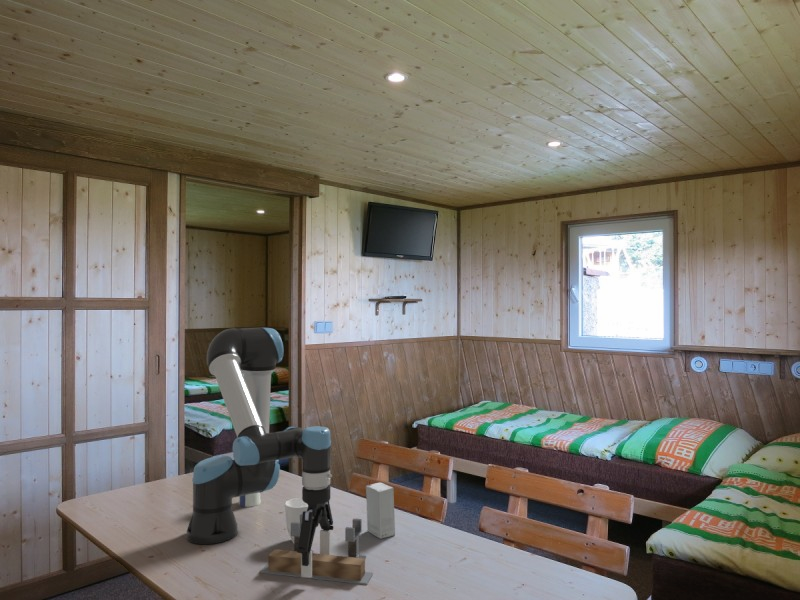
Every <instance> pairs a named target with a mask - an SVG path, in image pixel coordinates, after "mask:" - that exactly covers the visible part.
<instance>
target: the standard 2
mask: <svg viewBox="0 0 800 600" xmlns="http://www.w3.org/2000/svg"><path fill="white" fill-rule="evenodd" d="M362 519H363V518H362ZM362 519H361V518H353V519H352V527H349V526H346V527H345V529H344V530H345V532H344V533H345V534H344V535H345V536H344V537H345V540H344V541H345V542H348V543H347V546H348V547H347V552H348V554H347V557H354V558H364V559H365V560H366V558H367V555H362V554H360V534H361V533H362V528H363V527H362V526H363V524H362V521H363V520H362Z"/></svg>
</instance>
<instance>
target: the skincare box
mask: <svg viewBox="0 0 800 600" xmlns="http://www.w3.org/2000/svg"><path fill="white" fill-rule="evenodd" d="M365 492H366V493H365V494H366V495H365V498H366V500H365V501H366V518H367V519H366V520H367V521H366V522H367V523H366V528H367V530H366V531H367V532H368V533H370V534H371V535H373V536H374V537H377V538H378V539H381V540H382V539H384V538H389V537H390V538H391V537H394V536H395V535H396V521H395V500H394V499H395V498H394V495H395V494H394V493H395V492H394V487H392V486H390V485H387V484H385V483H383V482H375V483H372V484H368V485H365Z"/></svg>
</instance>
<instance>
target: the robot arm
mask: <svg viewBox="0 0 800 600" xmlns="http://www.w3.org/2000/svg"><path fill="white" fill-rule="evenodd" d="M284 350H285V349H284V343H283V341H282V337H281V336H280V333H279V332H278V331H277V330H276V329H274V328H272V327H271V328H270V327H243V328H236V327H233V328H232V327H231V328H227V329H223V330H222V331H221V332H219V333H217V335H215V337H214V338H213V339H212V340H211V342H210V343H209V346H208V348H207V351H206V366H207V367H208V371H209V373H210V374H211V375H212V376H213V377H215V379H216V382H217V386H218V387H219V389H220V391H219V392H220V393H221V396H222V399H223V402H224V405H225V407H226V410H227V413H228V415H229V418H230V421H231V424H232V427H233V429H234V432H235V434H236V438H235V439H234V440H233V442H232V453H233V454H232V456H233V458H232V457H231V456H229V455H220V456H219V455H217V456H211V457H207V458H205V459H203V460H200V461H199V462H198V463H196V464H195V466H194V468H193V471H192V472H193V474H192V475H193V476H192V514H191V517H190V519H189V523H188V526H187V530H186V540H187V541H188V542H190V543H192V544H196V545H215V544H218V543H222V542H223V543H224V542H226V541H229V540H231V539H233V538H234V537H235V536H237V534H238V523H237V520H236V519H237V518H236V517H235V514H234V510H233V498H239V496H243V495H248V494H254V493H260V494H261V493H263V492H265V491H270V490H272V489H273V488H274V487H275V486H276V484H278V483H277V482H278V481H279V477H280V471H281V470H280V469H281V467H280V466H281V465H280V464H279V463H280V462H279V461H280V460H281V461H282V460H285V459H286V460H287V459H292V458H299V459H301V461H302V462H301V463H302V464H301V465H302V472H301V476H302V477H301V485H302V486H303V487H302V488H301V491H302V493H301V495H302V497H301V498H302V500H303V502H305V503H307V504H308V509H307V512H306V511H303V514H302V525H301V531H300V537H299V543H298V549H297V552H298V553H301V577H300V578H302V577H307V578H306V579H311V577H312V551H311V550H312V546H313V542H314V538H315V533H316V529H317V527H320V528H321V529H320V531H319V554H325V555H331V531H333V530H334V519H333V514H332V509H331V506H330V505H331V504H330V501H331V486H330V484H331V479H332V477H333V474H331V464H332V463H331V458H332V456H331V453H332V451H331V449H332V448H331V447H332V440H331V429H329V428H328V427H327V426H319V425H316V426H307V427H305V428H303V427H299V426H289V427H286V428H285V429H284V430H281V431H276V432H275V431H274V432H270V420H271V419H270V415H271V414H270V413H271V384H272V383H271V382H272V380H271V378H272V374H273V373H274V372H275V371H276V370H277V364H279V363H280V362H282V361H283V357H284Z"/></svg>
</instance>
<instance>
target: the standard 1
mask: <svg viewBox="0 0 800 600" xmlns="http://www.w3.org/2000/svg"><path fill="white" fill-rule="evenodd" d="M301 525H302V514H301V515H300V523H296V522H292V523H291V536H294V543H293V546H294V547H293V551H296V552H297V549H298V543H299V537H300V531H301ZM311 551H312V553H314V550H312V549H311Z"/></svg>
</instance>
